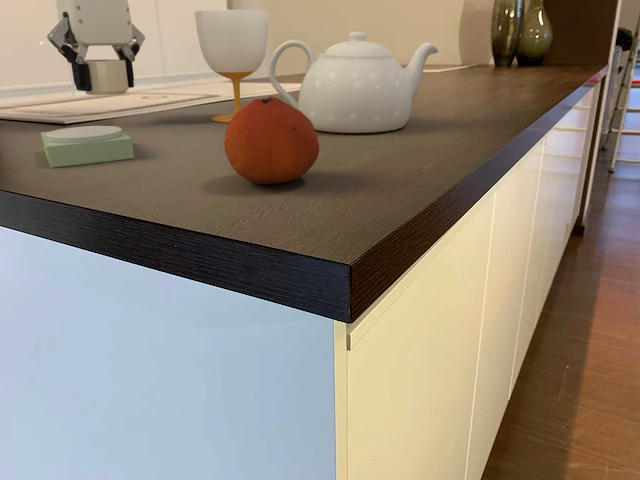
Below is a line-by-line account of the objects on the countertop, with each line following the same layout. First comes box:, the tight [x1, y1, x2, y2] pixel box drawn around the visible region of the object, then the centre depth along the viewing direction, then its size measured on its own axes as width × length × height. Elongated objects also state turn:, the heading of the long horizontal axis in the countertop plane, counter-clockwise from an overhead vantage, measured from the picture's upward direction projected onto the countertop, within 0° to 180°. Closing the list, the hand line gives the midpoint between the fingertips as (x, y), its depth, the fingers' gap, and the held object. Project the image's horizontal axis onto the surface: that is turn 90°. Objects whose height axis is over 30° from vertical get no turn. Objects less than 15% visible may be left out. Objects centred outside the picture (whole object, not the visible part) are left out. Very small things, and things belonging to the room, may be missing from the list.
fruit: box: [223, 95, 320, 185], centre depth 51 cm, size 9×9×8 cm
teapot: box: [267, 31, 439, 134], centre depth 81 cm, size 19×18×14 cm
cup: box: [194, 9, 269, 124], centre depth 90 cm, size 12×12×17 cm
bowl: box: [84, 59, 130, 96], centre depth 85 cm, size 7×7×5 cm
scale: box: [40, 124, 135, 169], centre depth 65 cm, size 11×9×3 cm
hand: (106, 87), depth 86 cm, fingers closed on bowl, 7 cm apart
